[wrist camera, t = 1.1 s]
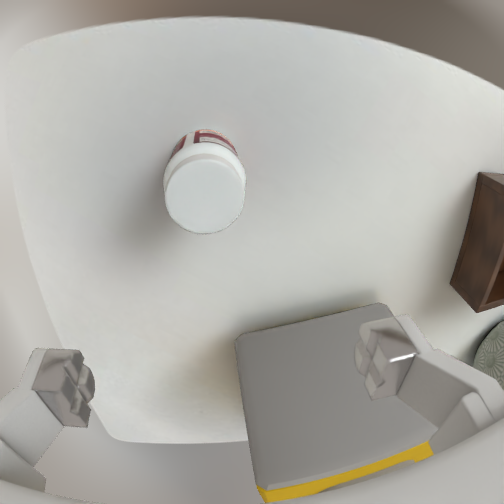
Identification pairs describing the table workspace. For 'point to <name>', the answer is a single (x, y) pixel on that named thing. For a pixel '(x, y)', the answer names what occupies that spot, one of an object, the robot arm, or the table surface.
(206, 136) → the pill bottle
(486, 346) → the planter
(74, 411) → the robot arm
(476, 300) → the holder
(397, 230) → the table surface
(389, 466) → the alarm clock
